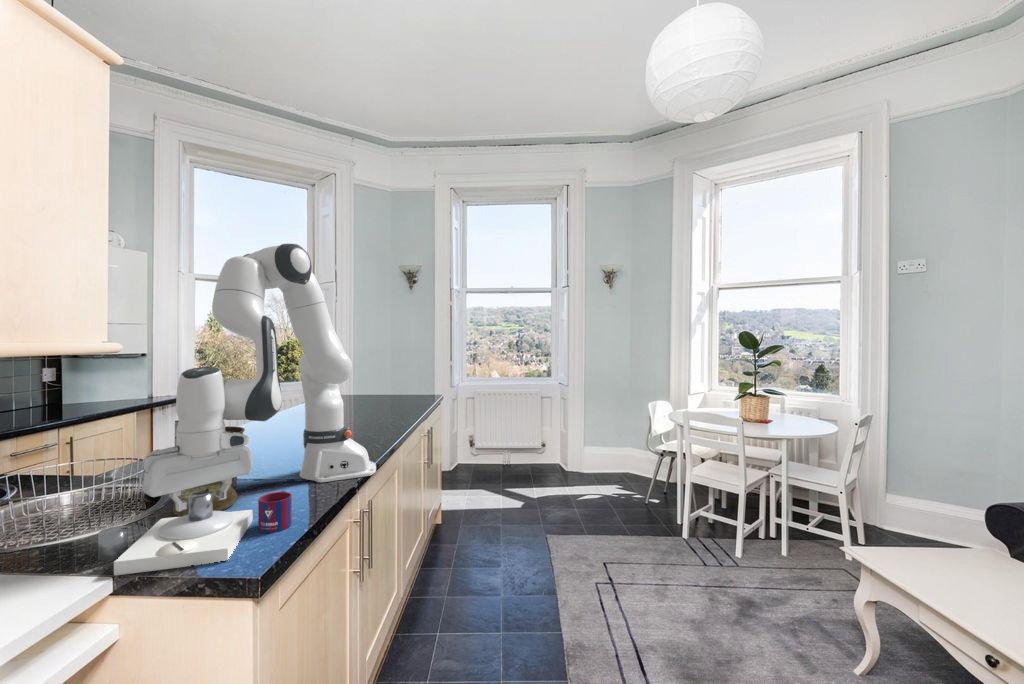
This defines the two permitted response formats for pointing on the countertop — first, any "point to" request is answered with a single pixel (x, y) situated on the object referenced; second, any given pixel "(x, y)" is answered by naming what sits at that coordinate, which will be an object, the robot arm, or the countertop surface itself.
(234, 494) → the olive green round disc
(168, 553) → the scale
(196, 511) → the spacer
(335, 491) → the countertop surface
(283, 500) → the mug
